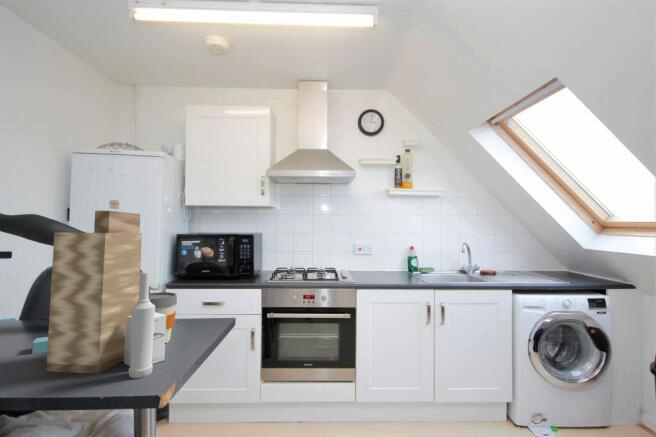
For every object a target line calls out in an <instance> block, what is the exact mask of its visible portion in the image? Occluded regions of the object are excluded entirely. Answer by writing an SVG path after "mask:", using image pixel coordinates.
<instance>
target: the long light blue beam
mask: <svg viewBox="0 0 656 437" xmlns="http://www.w3.org/2000/svg"><path fill="white" fill-rule="evenodd" d="M31 350H32V352H31V354H32V355H36V354H41V353H47V351H48V336H44V337H43V336H42V337H37V338H35V339H34V340H33V342H32V349H31Z"/></svg>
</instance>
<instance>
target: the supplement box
mask: <svg viewBox="0 0 656 437" xmlns="http://www.w3.org/2000/svg"><path fill="white" fill-rule="evenodd" d="M165 336H166V315H165V314H161V313H156V312H155V318H154V334H153V349H152V365H154V364H158V363H161V362H164V361H165V357H166V355H165V353H166V344H165ZM130 353H131V316H128V317H126V333H125V352H124V360H123V363H124V365H126V366H128V367H130Z"/></svg>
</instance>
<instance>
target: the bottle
mask: <svg viewBox="0 0 656 437" xmlns="http://www.w3.org/2000/svg"><path fill="white" fill-rule="evenodd" d="M150 274H151V273H150V272H140V288H139V295H140V297H139V300H138V303H136V304H135V305H134V306H133V307H132V308H131V353H130V366H129V368H128V376H129V378H131V379H141V378H145V377H148V376H150V375H151V374H152V372H153V370H154V364H152V349H153V334H154V318H155V305H153V304H152V303H151V302H150V299H148V295H149V293H150V292H149V290H150V289H149V288H150Z"/></svg>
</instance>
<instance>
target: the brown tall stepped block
mask: <svg viewBox="0 0 656 437" xmlns="http://www.w3.org/2000/svg"><path fill="white" fill-rule="evenodd" d="M93 224H94V226H93V228H94V229H93V232H86V233H63V232H54V246H53V250H52V251H53V253H52V268H51V269H52V270H51V281H50V282H51V285H50V303H49V318H48V319H49V320H48V333H47V334H48V335H47V337H48V351H47V352H46V353H47V354H46V369H45V370H46V372H52V373H53V372H55V373H74V374H76V373H77V374H94V375H95V374H96V375H99V374H101V373H103V372H105V371H106V370H108V369H111V368H112V367H114V366H116V365H118V364H119V363H122V362H124V352H125V333H126V317H128V316H131V308H132V307H133V306H134V305H135V304H136V303H138V300H139V295H140V273H141V262H142V261H141V260H142V258H141V257H142V241H143V240H142V239H143V238H142V237H143V234H142V233H141V232H140V230H141V213H133V212H127V211H126V212H124V211H115V210H95V211H94V223H93Z"/></svg>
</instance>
